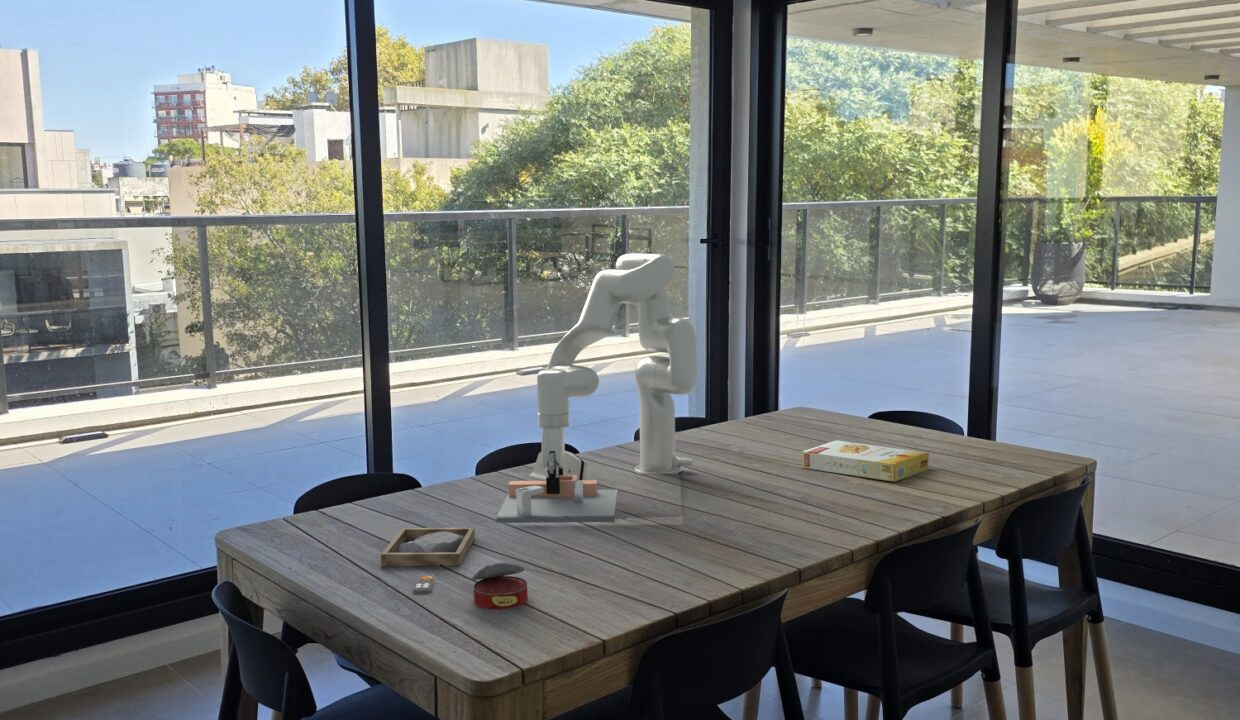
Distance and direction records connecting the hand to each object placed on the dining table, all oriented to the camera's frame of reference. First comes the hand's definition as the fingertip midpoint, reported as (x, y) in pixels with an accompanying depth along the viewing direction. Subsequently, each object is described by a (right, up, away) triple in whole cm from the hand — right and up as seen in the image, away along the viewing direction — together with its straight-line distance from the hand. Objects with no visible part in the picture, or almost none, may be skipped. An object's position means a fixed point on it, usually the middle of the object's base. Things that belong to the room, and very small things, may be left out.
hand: (555, 488), depth 265 cm
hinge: (0, -1, +16) cm, 16 cm away
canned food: (-6, -13, -67) cm, 68 cm away
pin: (+6, -4, -7) cm, 10 cm away
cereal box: (+82, +2, +27) cm, 87 cm away
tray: (-24, -9, -38) cm, 46 cm away
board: (+2, -4, -7) cm, 8 cm away
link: (0, -1, 0) cm, 1 cm away
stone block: (-24, -9, -39) cm, 46 cm away
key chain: (-22, -12, -56) cm, 61 cm away
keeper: (-5, -5, -15) cm, 17 cm away
